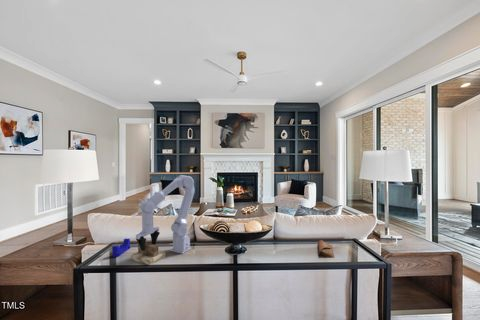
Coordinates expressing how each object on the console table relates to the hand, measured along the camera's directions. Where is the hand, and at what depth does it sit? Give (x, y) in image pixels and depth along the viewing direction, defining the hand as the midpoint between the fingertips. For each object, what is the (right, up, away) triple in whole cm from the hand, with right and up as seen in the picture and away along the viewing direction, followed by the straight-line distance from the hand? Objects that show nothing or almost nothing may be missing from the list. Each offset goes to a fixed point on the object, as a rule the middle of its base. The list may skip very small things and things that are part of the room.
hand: (148, 247), depth 132 cm
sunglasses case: (+100, -6, +9) cm, 101 cm away
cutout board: (0, -6, 0) cm, 6 cm away
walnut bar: (0, -3, 0) cm, 3 cm away
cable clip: (-19, -6, +8) cm, 21 cm away
